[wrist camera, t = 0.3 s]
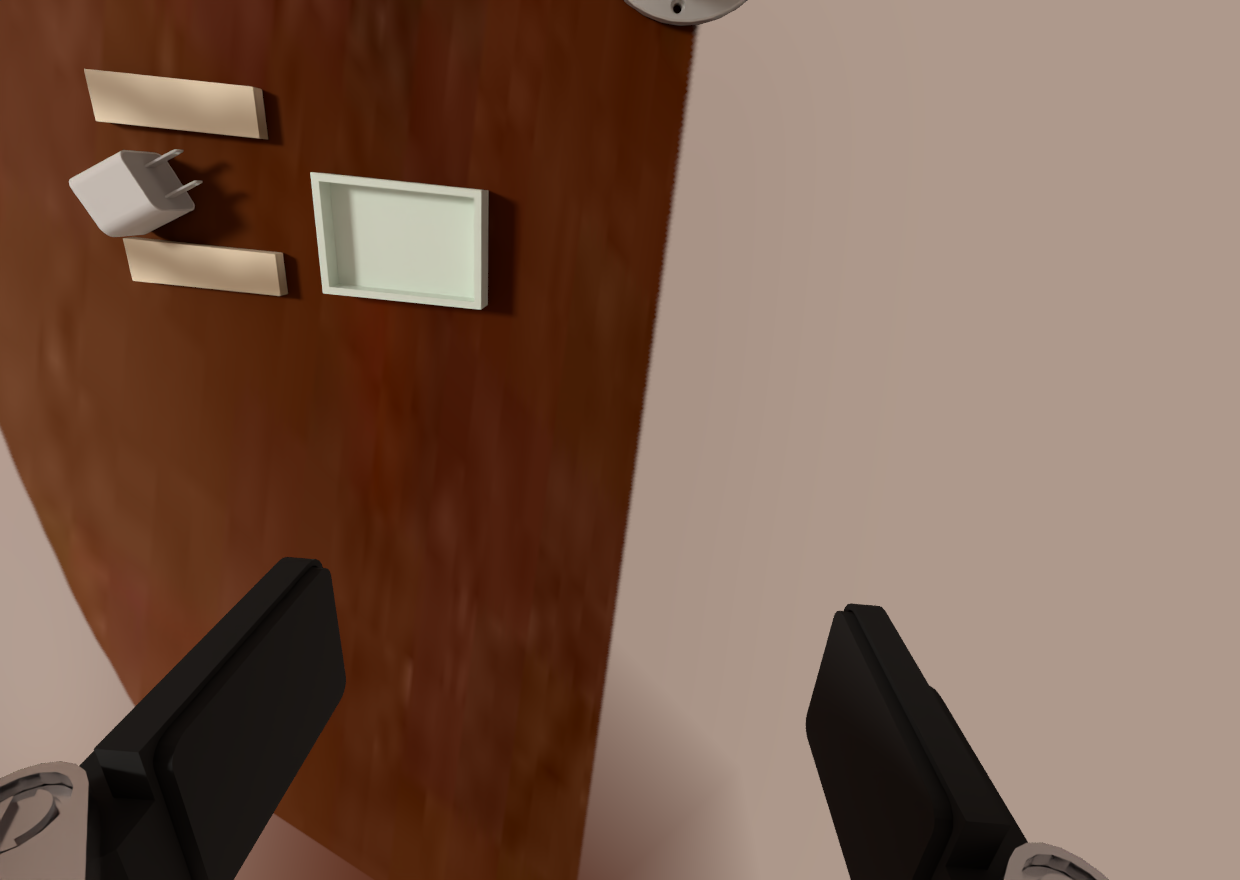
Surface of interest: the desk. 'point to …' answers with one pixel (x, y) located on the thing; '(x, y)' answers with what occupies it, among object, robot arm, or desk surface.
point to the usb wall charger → (133, 192)
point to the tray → (402, 240)
